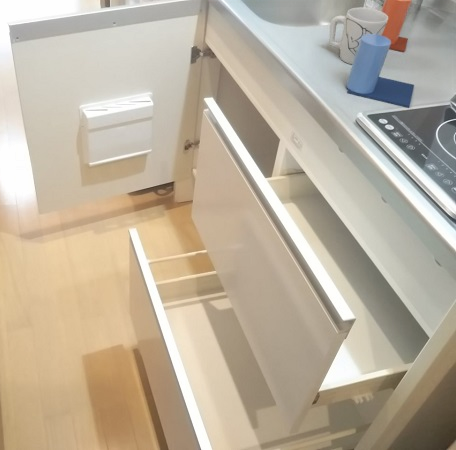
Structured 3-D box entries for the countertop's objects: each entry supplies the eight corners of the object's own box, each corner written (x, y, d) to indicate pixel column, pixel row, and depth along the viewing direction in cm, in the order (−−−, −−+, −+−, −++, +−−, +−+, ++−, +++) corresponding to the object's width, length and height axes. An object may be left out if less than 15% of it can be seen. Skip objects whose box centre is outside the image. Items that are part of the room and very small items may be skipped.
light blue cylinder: (376, 84, 107) (392, 37, 100) (372, 96, 103) (389, 48, 96) (348, 78, 109) (363, 31, 102) (343, 89, 105) (358, 41, 98)
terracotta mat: (407, 39, 126) (408, 38, 126) (404, 52, 120) (404, 50, 120) (365, 31, 129) (366, 29, 129) (360, 43, 123) (361, 41, 123)
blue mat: (413, 86, 108) (414, 84, 108) (409, 107, 101) (409, 106, 101) (355, 73, 111) (355, 71, 111) (347, 93, 105) (347, 91, 104)
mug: (316, 56, 117) (327, 11, 110) (331, 44, 122) (343, 0, 115) (365, 71, 112) (380, 25, 105) (378, 58, 117) (394, 14, 110)
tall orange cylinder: (398, 38, 126) (413, -5, 119) (395, 46, 122) (411, 2, 115) (374, 33, 127) (388, -10, 120) (371, 41, 123) (385, -2, 117)
